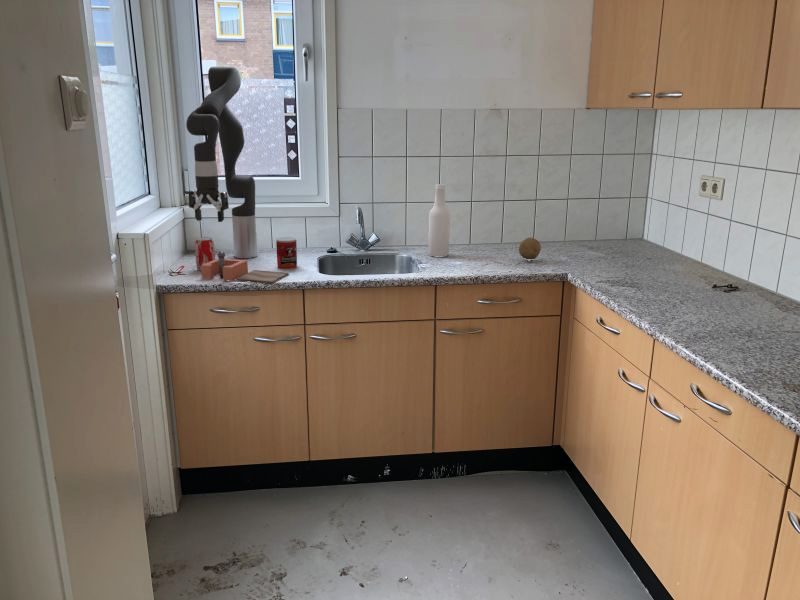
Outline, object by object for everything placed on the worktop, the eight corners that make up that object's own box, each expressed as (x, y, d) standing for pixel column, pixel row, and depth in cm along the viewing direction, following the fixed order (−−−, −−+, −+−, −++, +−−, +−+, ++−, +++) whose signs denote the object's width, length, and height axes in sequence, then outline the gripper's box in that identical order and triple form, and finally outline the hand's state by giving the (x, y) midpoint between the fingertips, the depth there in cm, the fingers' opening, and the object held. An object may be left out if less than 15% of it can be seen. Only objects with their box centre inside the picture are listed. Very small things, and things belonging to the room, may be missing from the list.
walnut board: (254, 272, 248) (254, 269, 247) (288, 274, 244) (288, 272, 244) (236, 280, 235) (236, 278, 234) (272, 283, 231) (272, 281, 231)
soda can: (210, 272, 246) (208, 240, 243) (193, 271, 248) (190, 239, 244) (219, 268, 253) (217, 237, 250) (202, 267, 254) (199, 236, 251)
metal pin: (221, 276, 241) (219, 250, 238) (227, 276, 240) (226, 250, 237) (217, 277, 238) (215, 251, 236) (224, 278, 238) (222, 252, 235)
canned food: (280, 269, 252) (279, 241, 249) (274, 265, 259) (273, 237, 256) (300, 267, 255) (299, 239, 252) (293, 263, 262) (292, 236, 259)
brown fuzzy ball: (537, 264, 266) (539, 240, 263) (515, 262, 269) (517, 238, 266) (541, 260, 274) (543, 236, 271) (520, 258, 277) (521, 235, 274)
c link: (219, 271, 248) (218, 258, 247) (248, 273, 245) (247, 260, 244) (202, 278, 237) (201, 265, 236) (232, 281, 234) (231, 267, 233)
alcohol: (424, 256, 278) (426, 184, 270) (432, 252, 286) (433, 182, 278) (444, 258, 275) (446, 186, 267) (451, 254, 283) (453, 183, 275)
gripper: (230, 174, 229) (233, 220, 233) (194, 172, 232) (197, 218, 237) (219, 176, 222) (222, 224, 226) (182, 174, 226) (185, 221, 230)
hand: (209, 221), depth 232 cm, fingers open, 8 cm apart
